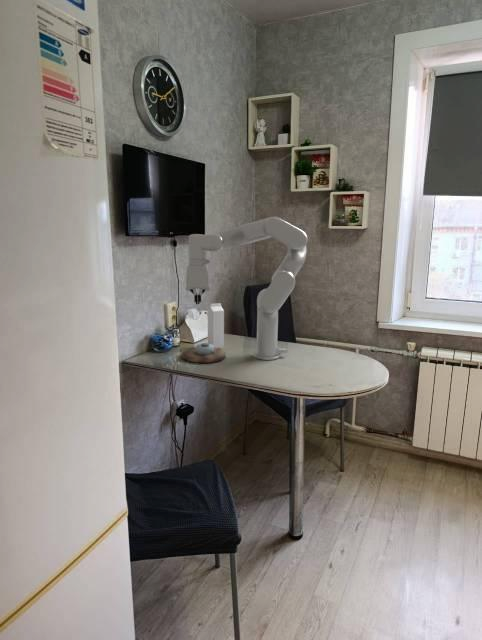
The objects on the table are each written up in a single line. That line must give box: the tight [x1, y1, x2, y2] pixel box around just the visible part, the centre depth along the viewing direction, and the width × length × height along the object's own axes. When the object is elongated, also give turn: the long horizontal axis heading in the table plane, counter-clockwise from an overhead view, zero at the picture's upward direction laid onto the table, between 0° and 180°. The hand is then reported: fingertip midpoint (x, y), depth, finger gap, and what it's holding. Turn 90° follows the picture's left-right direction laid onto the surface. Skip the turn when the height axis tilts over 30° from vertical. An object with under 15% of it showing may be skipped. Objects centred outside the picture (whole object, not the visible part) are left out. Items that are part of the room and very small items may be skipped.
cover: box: [195, 342, 214, 355], centre depth 198 cm, size 8×8×4 cm
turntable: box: [181, 346, 227, 364], centre depth 199 cm, size 20×20×2 cm
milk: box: [207, 302, 225, 349], centre depth 214 cm, size 6×6×22 cm
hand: (197, 303), depth 195 cm, fingers closed
